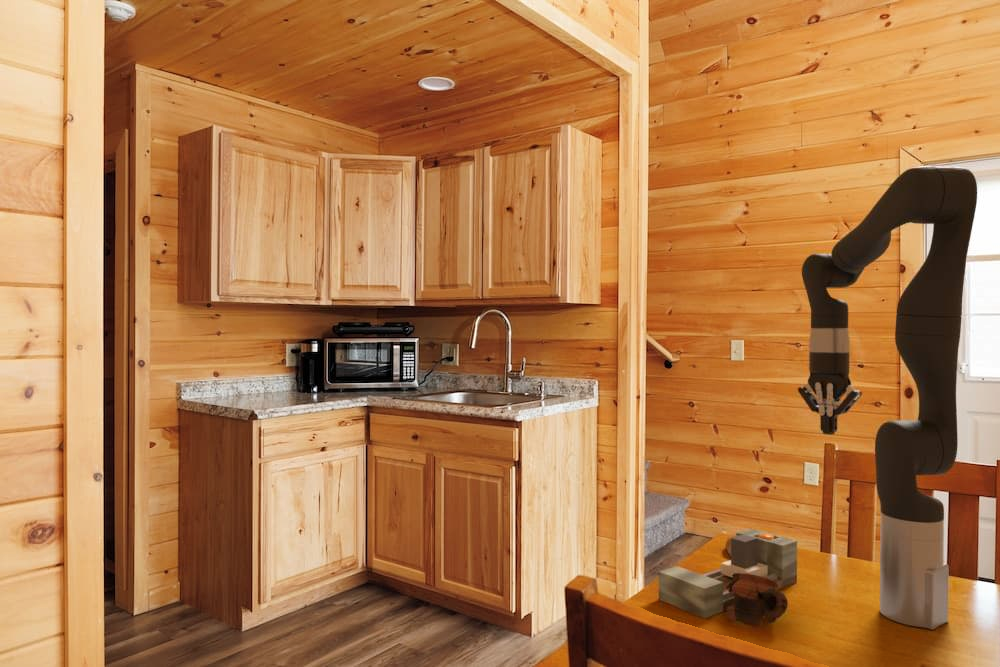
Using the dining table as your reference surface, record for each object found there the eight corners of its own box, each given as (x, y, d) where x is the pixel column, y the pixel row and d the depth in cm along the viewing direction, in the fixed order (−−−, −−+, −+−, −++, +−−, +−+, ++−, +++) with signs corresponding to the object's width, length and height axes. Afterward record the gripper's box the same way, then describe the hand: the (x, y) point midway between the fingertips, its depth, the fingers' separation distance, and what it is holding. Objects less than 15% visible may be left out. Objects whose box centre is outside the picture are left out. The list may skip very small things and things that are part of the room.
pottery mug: (709, 617, 117) (716, 568, 120) (748, 633, 120) (753, 585, 124) (767, 625, 107) (773, 571, 110) (807, 642, 110) (812, 589, 114)
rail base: (796, 582, 132) (797, 540, 132) (704, 618, 115) (704, 570, 115) (750, 567, 140) (751, 528, 140) (658, 599, 123) (658, 554, 123)
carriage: (767, 576, 130) (767, 539, 129) (748, 583, 126) (748, 545, 126) (739, 567, 134) (740, 531, 134) (720, 573, 131) (721, 536, 131)
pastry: (720, 545, 155) (720, 528, 155) (751, 546, 154) (751, 529, 154) (729, 559, 146) (730, 541, 145) (762, 561, 145) (763, 542, 145)
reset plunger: (776, 566, 134) (776, 536, 134) (768, 569, 132) (768, 538, 132) (763, 562, 136) (763, 532, 136) (755, 565, 135) (755, 535, 135)
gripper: (870, 350, 139) (870, 436, 139) (808, 349, 149) (808, 428, 150) (852, 351, 134) (851, 440, 134) (789, 349, 145) (788, 431, 145)
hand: (828, 433), depth 142 cm, fingers closed
